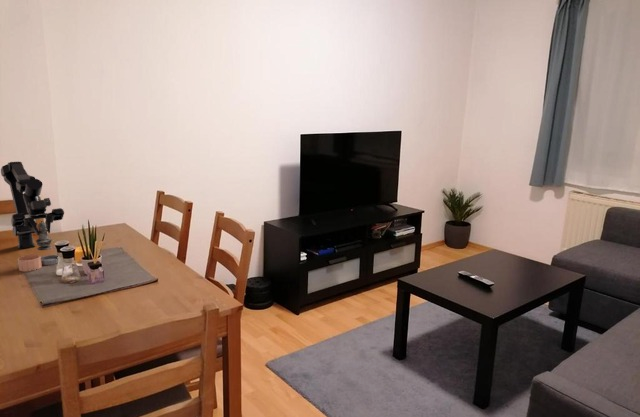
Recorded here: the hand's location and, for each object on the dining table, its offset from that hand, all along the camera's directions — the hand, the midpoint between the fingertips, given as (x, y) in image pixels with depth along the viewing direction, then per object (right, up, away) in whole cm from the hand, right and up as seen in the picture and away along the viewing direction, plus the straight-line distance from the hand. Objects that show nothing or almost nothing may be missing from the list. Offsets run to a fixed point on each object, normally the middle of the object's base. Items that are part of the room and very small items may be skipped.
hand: (44, 233), depth 190 cm
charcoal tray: (-1, -12, +5) cm, 13 cm away
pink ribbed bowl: (-4, -14, -2) cm, 15 cm away
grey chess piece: (-1, -6, +2) cm, 7 cm away
